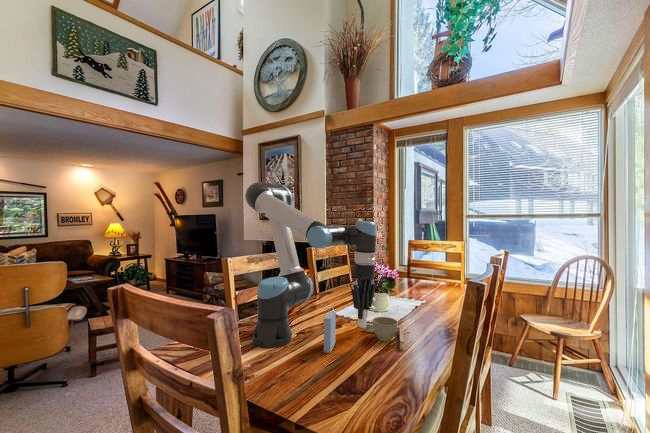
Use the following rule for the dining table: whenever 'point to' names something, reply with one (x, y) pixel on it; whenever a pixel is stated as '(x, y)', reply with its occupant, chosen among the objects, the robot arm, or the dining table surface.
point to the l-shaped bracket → (398, 331)
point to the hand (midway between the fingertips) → (362, 326)
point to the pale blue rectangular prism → (329, 331)
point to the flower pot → (384, 327)
